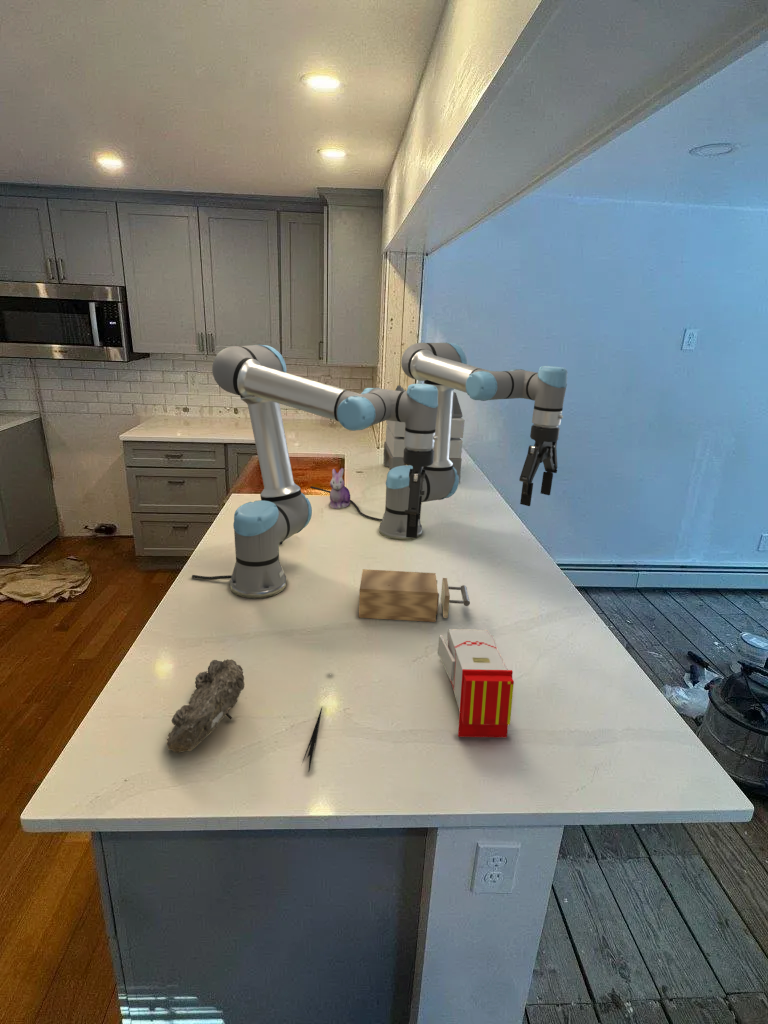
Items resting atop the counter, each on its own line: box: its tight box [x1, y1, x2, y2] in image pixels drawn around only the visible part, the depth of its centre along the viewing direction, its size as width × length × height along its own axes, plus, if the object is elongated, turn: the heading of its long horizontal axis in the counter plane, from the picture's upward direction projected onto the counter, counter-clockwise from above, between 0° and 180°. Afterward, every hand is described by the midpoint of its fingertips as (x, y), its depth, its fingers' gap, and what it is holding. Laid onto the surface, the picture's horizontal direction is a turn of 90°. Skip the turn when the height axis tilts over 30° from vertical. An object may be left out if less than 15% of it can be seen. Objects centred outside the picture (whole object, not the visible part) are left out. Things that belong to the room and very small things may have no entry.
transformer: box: [383, 384, 465, 483], centre depth 268 cm, size 34×33×41 cm
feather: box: [301, 673, 332, 771], centre depth 108 cm, size 2×28×2 cm
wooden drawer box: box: [358, 568, 439, 623], centre depth 149 cm, size 20×11×8 cm, turn 88°
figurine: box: [329, 467, 351, 509], centre depth 223 cm, size 9×10×15 cm
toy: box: [437, 628, 515, 738], centre depth 117 cm, size 12×13×30 cm
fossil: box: [166, 658, 245, 754], centre depth 106 cm, size 22×10×15 cm
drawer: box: [436, 577, 471, 619], centre depth 148 cm, size 24×10×6 cm, turn 88°
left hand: (413, 527), depth 148 cm, fingers open, 13 cm apart
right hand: (535, 499), depth 161 cm, fingers open, 13 cm apart
